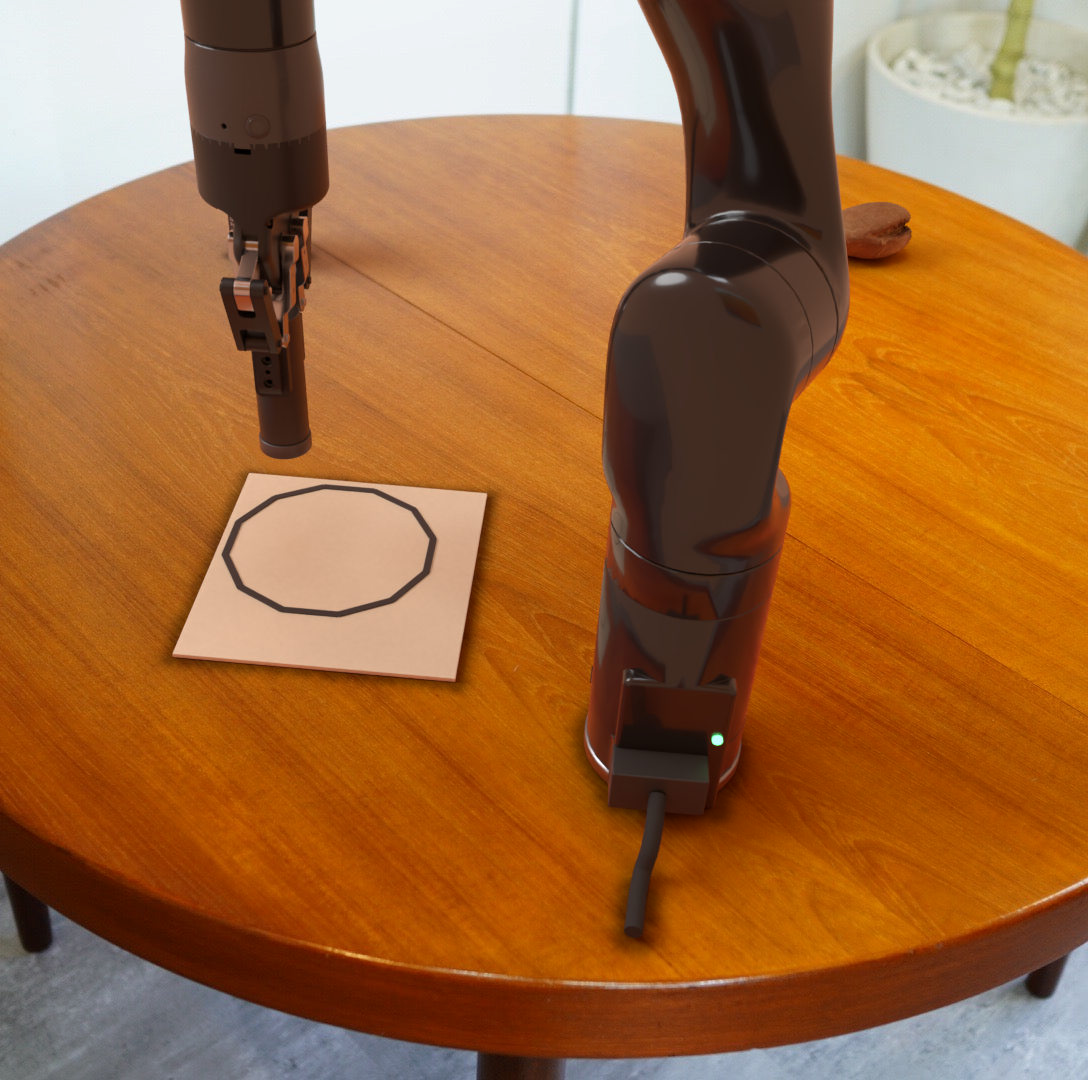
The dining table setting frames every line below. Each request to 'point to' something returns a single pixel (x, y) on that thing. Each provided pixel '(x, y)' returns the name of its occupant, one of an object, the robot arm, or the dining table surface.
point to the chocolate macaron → (876, 229)
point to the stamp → (287, 406)
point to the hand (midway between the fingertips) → (281, 378)
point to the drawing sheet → (340, 578)
